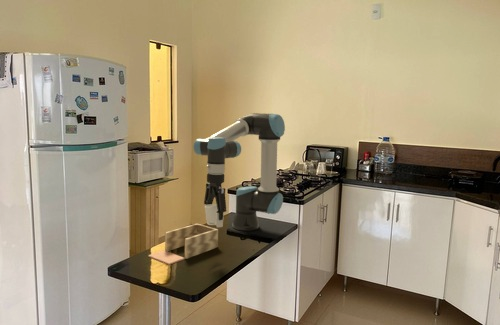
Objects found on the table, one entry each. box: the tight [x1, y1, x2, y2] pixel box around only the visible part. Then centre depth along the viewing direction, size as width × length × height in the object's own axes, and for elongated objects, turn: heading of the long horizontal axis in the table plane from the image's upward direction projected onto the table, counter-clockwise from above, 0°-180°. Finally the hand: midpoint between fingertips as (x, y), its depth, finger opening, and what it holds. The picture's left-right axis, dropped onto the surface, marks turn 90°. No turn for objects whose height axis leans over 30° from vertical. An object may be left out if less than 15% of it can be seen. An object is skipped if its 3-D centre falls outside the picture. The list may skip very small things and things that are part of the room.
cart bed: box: [164, 223, 219, 260], centre depth 178 cm, size 20×14×10 cm
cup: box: [204, 203, 224, 226], centre depth 168 cm, size 7×10×8 cm
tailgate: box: [147, 249, 186, 266], centre depth 166 cm, size 1×14×9 cm
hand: (214, 223), depth 168 cm, fingers closed on cup, 9 cm apart
